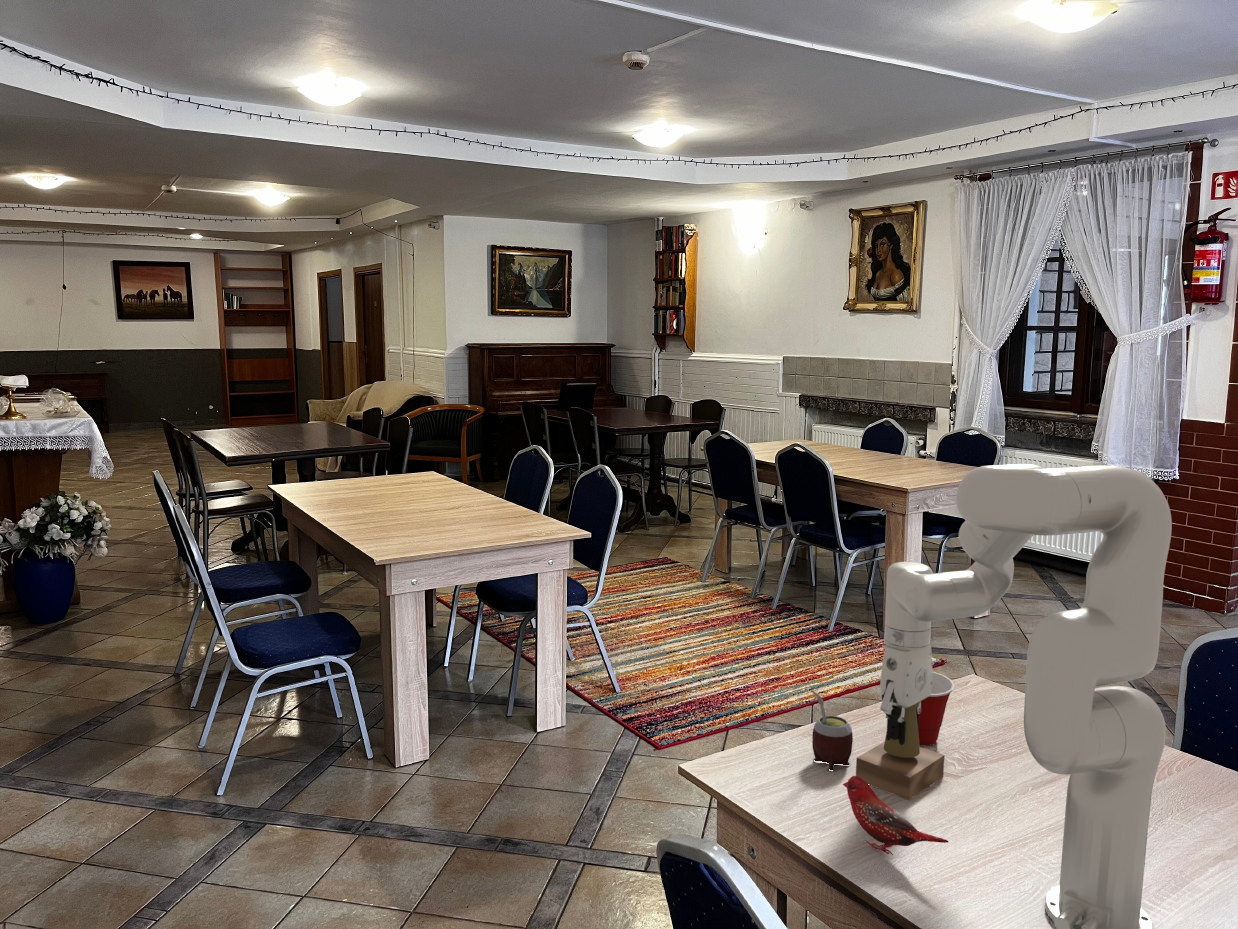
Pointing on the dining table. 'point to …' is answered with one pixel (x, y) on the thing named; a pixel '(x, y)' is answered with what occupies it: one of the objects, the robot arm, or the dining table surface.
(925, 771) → the walnut plinth
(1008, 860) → the dining table surface
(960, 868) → the dining table surface
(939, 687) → the plastic cup
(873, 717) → the dining table surface
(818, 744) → the mate gourd
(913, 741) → the olive pawn figure
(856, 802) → the decorative bird figurine
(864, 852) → the dining table surface
